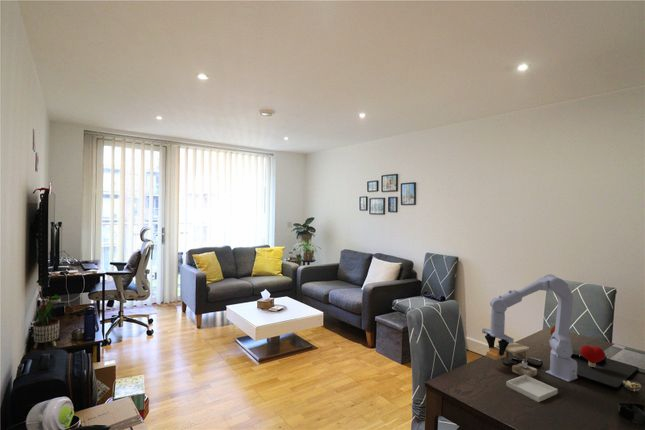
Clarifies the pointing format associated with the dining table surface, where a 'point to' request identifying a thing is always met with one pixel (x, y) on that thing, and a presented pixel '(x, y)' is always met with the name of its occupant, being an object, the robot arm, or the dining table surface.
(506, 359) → the trolley
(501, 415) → the dining table surface
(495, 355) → the tan stepped block
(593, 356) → the red mushroom
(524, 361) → the pin
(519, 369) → the pin socket
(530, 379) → the parts tray
